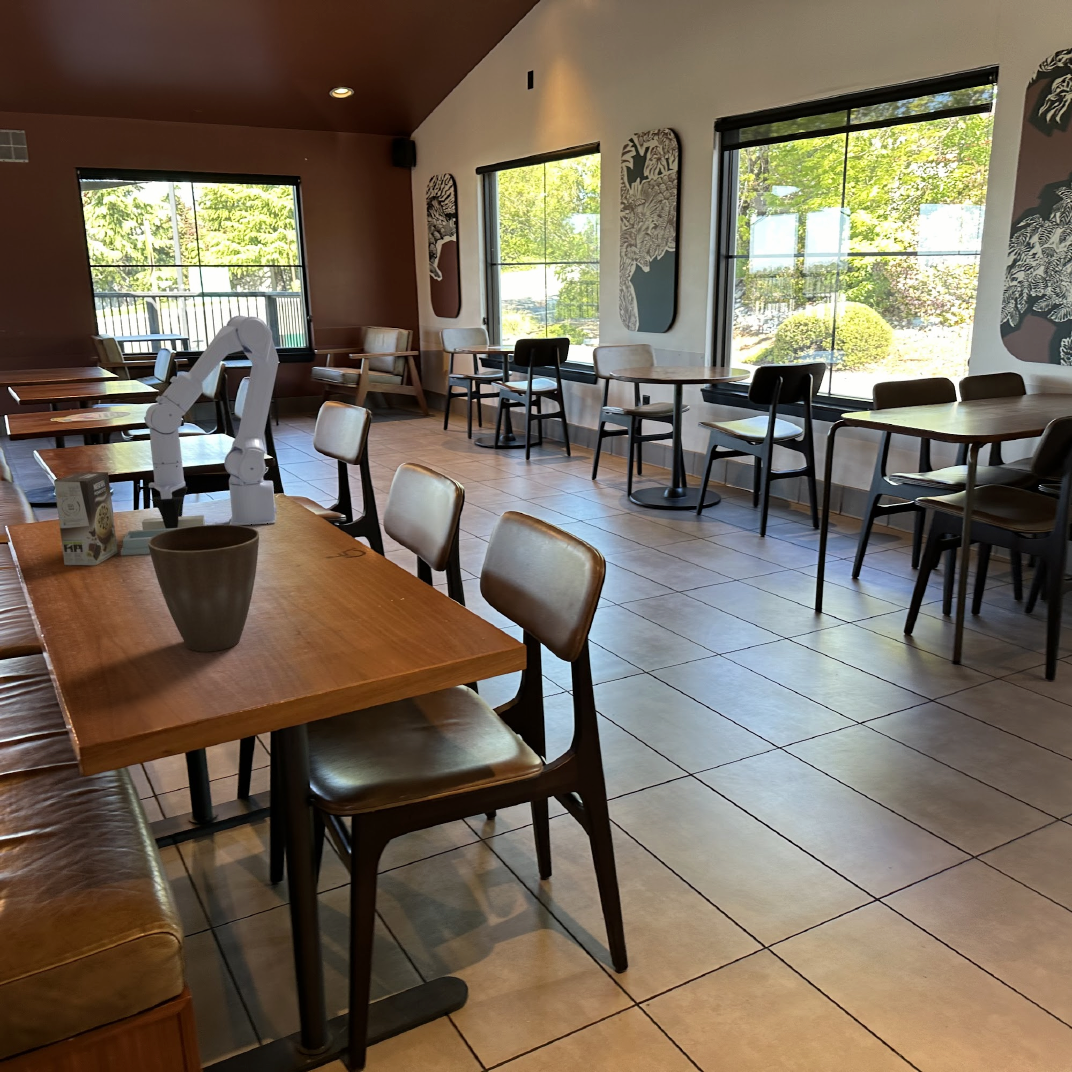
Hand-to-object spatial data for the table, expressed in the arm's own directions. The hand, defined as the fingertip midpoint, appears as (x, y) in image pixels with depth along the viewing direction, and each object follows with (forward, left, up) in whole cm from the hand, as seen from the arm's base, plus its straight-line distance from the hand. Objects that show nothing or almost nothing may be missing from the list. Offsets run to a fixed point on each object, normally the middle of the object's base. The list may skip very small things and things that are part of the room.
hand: (174, 525), depth 201 cm
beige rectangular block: (0, 0, -2) cm, 2 cm away
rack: (0, +12, -1) cm, 12 cm away
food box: (+13, +18, -2) cm, 22 cm away
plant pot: (-13, +70, -2) cm, 71 cm away
